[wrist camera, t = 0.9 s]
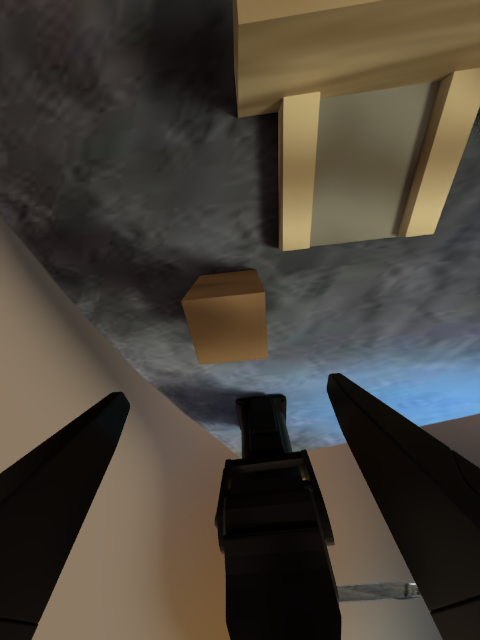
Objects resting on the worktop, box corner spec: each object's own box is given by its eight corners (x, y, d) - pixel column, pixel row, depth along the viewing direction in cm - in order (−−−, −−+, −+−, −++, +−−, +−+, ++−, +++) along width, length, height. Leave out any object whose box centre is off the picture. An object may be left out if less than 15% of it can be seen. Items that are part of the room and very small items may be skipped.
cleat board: (448, 229, 14) (570, 232, 9) (248, 252, 15) (254, 267, 10) (529, 22, 10) (878, -220, 4) (234, 69, 10) (230, -93, 5)
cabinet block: (259, 325, 18) (268, 365, 13) (211, 329, 19) (201, 371, 13) (255, 269, 16) (264, 292, 11) (199, 275, 16) (181, 301, 11)
